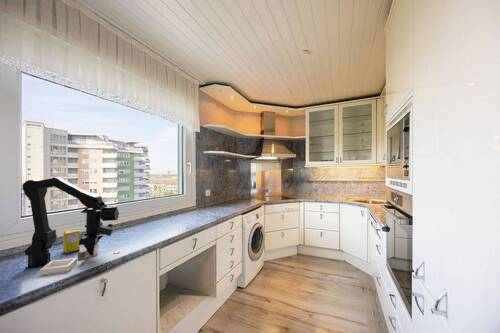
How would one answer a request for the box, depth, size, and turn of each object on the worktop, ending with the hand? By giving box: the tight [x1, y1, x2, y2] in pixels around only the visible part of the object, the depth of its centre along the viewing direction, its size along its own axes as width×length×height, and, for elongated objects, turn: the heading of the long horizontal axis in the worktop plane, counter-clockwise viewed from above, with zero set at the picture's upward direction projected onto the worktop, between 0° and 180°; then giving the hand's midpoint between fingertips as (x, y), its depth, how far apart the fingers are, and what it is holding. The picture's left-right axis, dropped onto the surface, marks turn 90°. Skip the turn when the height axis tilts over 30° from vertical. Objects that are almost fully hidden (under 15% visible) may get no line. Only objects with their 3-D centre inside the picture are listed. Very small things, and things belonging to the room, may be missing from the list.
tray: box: [39, 257, 78, 277], centre depth 94 cm, size 10×10×2 cm
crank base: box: [85, 250, 120, 259], centre depth 111 cm, size 16×5×1 cm, turn 112°
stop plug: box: [87, 242, 99, 259], centre depth 104 cm, size 4×4×6 cm
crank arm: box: [77, 247, 88, 262], centre depth 104 cm, size 13×3×4 cm, turn 22°
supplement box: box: [62, 229, 81, 255], centre depth 116 cm, size 6×6×11 cm
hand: (92, 253), depth 104 cm, fingers closed on stop plug, 4 cm apart
